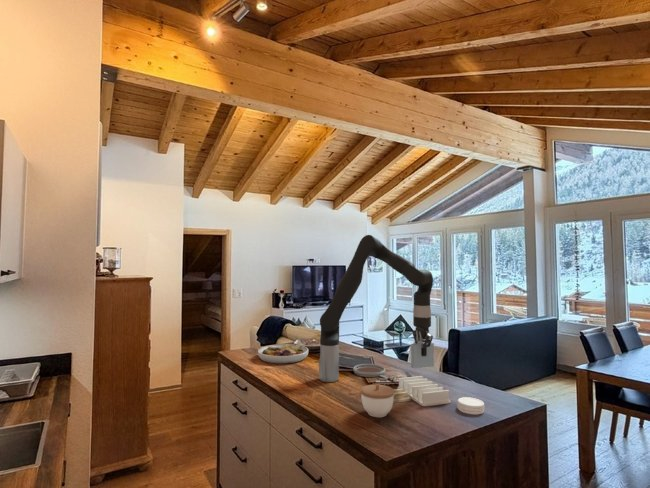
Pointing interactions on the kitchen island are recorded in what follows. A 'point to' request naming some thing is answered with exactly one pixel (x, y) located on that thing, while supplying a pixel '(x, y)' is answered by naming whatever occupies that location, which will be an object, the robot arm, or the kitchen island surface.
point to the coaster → (470, 405)
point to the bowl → (283, 353)
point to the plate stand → (400, 396)
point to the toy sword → (371, 371)
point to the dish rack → (424, 391)
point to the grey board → (420, 360)
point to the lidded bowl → (377, 399)
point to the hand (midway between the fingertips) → (422, 355)
